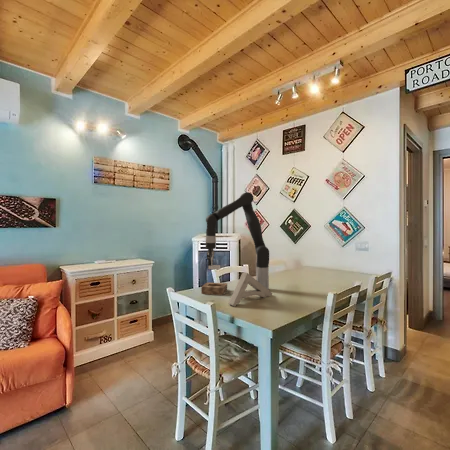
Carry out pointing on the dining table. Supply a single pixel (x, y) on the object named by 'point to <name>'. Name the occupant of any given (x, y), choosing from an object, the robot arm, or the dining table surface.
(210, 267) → the bracket
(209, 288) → the well block
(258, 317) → the dining table surface
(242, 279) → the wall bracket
